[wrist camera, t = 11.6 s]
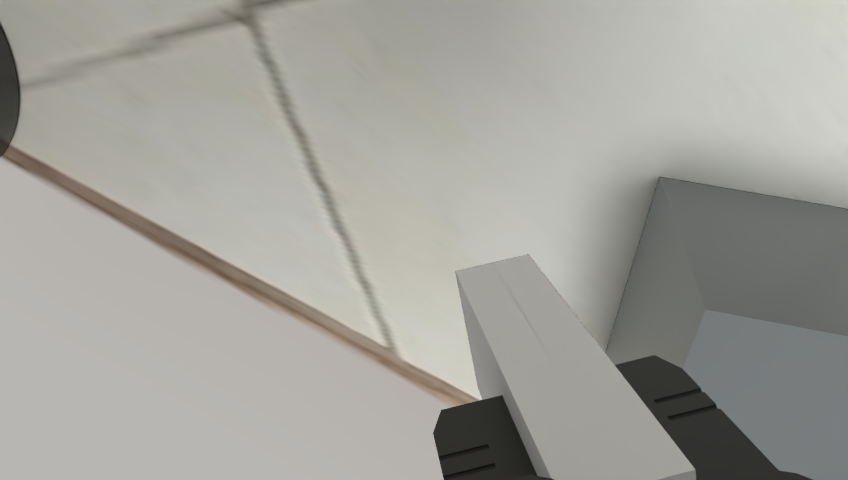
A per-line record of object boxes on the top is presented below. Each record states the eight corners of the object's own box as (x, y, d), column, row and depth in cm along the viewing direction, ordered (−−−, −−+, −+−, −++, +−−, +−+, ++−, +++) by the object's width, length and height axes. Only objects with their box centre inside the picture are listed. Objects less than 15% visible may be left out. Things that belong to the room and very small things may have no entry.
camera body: (598, 375, 40) (614, 567, 29) (659, 177, 34) (710, 322, 23) (795, 414, 39) (891, 630, 28) (895, 217, 33) (1069, 391, 22)
